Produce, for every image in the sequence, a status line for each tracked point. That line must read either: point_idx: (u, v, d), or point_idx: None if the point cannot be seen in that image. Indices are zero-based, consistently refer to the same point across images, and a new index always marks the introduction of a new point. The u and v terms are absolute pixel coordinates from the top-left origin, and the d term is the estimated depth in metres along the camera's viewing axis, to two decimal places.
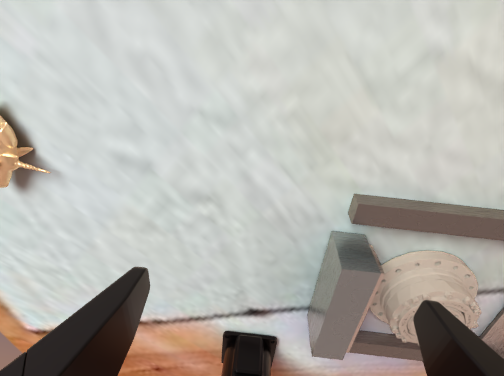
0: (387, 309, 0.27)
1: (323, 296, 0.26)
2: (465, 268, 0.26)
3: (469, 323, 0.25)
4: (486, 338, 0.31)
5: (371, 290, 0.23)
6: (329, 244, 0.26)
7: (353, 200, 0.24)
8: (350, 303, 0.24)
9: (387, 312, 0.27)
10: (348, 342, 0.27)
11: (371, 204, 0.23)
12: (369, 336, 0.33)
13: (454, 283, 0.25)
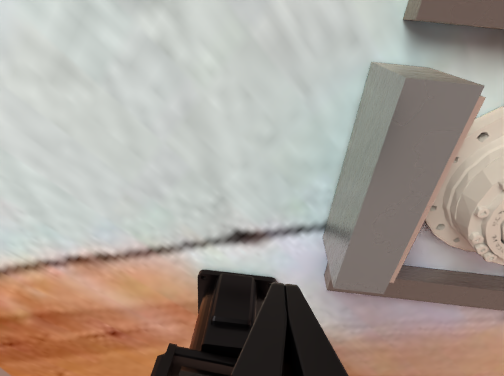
0: (462, 204, 0.16)
1: (356, 178, 0.15)
2: None
3: None
4: None
5: (458, 133, 0.12)
6: (366, 87, 0.15)
7: None
8: (411, 170, 0.13)
9: (462, 209, 0.16)
10: (398, 258, 0.16)
11: None
12: (415, 272, 0.22)
13: None
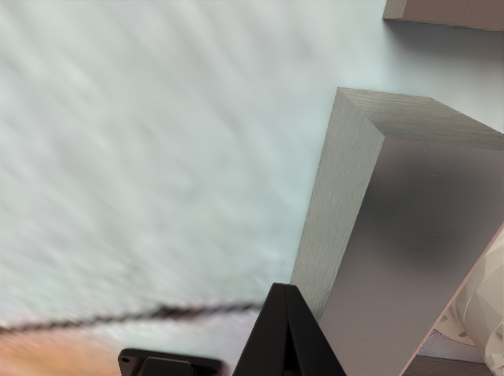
0: (476, 308, 0.10)
1: (313, 271, 0.10)
2: None
3: None
4: None
5: (488, 235, 0.06)
6: (331, 127, 0.09)
7: None
8: (399, 288, 0.07)
9: (476, 316, 0.10)
10: None
11: None
12: None
13: None
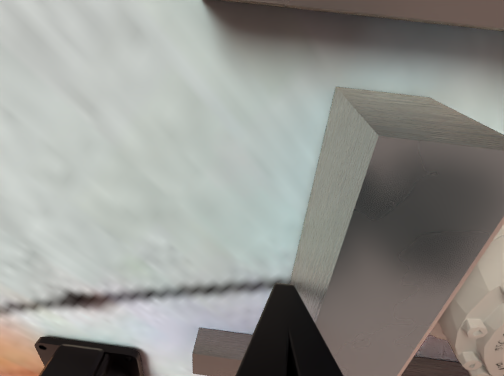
0: None
1: (310, 271, 0.10)
2: None
3: None
4: None
5: (484, 235, 0.06)
6: (328, 127, 0.09)
7: None
8: (395, 287, 0.07)
9: (445, 312, 0.10)
10: None
11: None
12: None
13: None
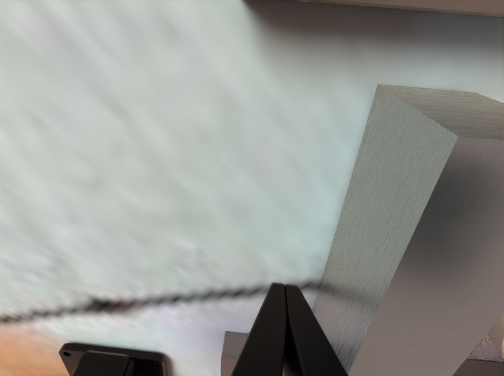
0: None
1: (354, 275, 0.09)
2: None
3: None
4: None
5: None
6: (370, 126, 0.09)
7: None
8: (457, 292, 0.07)
9: None
10: None
11: None
12: None
13: None
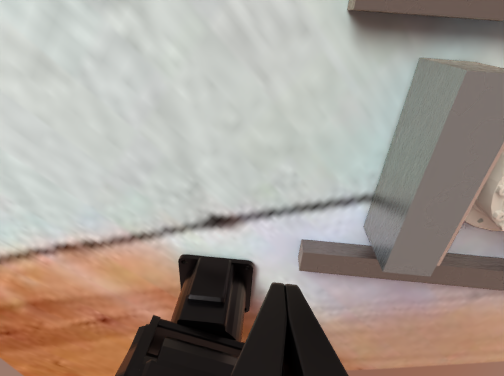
0: None
1: (406, 166, 0.16)
2: None
3: None
4: None
5: None
6: (415, 82, 0.16)
7: None
8: (466, 156, 0.14)
9: (484, 190, 0.17)
10: (446, 241, 0.17)
11: None
12: None
13: None
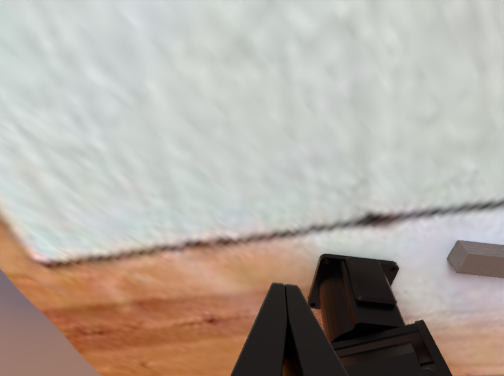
0: None
1: None
2: None
3: None
4: None
5: None
6: None
7: None
8: None
9: None
10: None
11: None
12: None
13: None
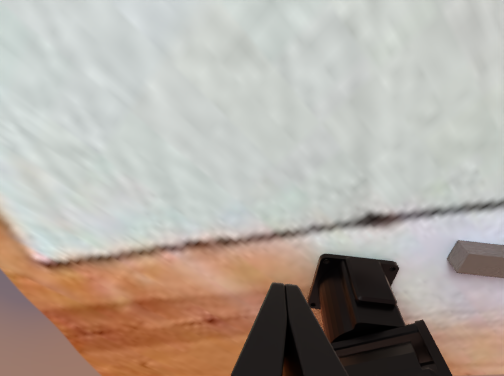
0: None
1: None
2: None
3: None
4: None
5: None
6: None
7: None
8: None
9: None
10: None
11: None
12: None
13: None
